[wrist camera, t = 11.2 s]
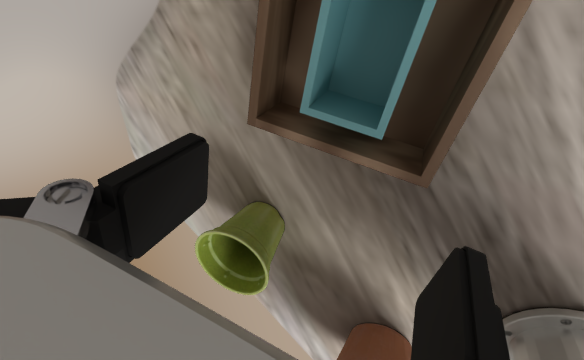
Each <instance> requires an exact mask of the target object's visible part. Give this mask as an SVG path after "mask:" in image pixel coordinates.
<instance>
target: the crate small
mask: <svg viewBox="0 0 584 360" xmlns="http://www.w3.org/2000/svg"><path fill="white" fill-rule="evenodd" d="M436 1H437V0H322V2H321V7H320V12H319V17H318V23H317V28H316V33H315V38H314V43H313V48H312V53H311V58H310V63H309V68H308V73H307V78H306V83H305V88H304V93H303V98H302V103H301V108H300V113H303V114H306V115H309V116H312V117H315V118H318V119H321V120H324V121H327V122H330V123H333V124H336V125H339V126H342V127H345V128H348V129H351V130H354V131H357V132H360V133H363V134H366V135H369V136H372V137H375V138H378V139H381V140H382V138H383V136H384V133H385V131H386V128H387V125H388V123H389V120H390V118H391V115H392V113H393V110H394V108H395V105H396V103H397V100H398V98H399V95H400V92H401V90H402V87H403V85H404V82H405V80H406V77H407V75H408V72H409V70H410V67H411V64H412V62H413V59H414V57H415V54H416V52H417V49H418V47H419V44H420V42H421V39H422V37H423V34H424V31H425V29H426V26H427V24H428V21H429V19H430V16H431V14H432V11H433V9H434V6H435V4H436Z"/></svg>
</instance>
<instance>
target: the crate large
mask: <svg viewBox="0 0 584 360" xmlns="http://www.w3.org/2000/svg"><path fill="white" fill-rule="evenodd" d="M321 2H322V0H259V7H258V18H257V28H256V39H255V49H254V60H253V70H252V81H251V91H250V102H249V112H248V123H247V124H249V125H252V126H254V127H257V128H260V129H263V130H265V131H268V132H271V133H274V134H277V135H279V136H282V137H285V138H288V139H291V140H293V141H296V142H299V143H302V144H304V145H307V146H310V147H313V148H316V149H318V150H321V151H324V152H327V153H330V154H332V155H335V156H338V157H341V158H343V159H346V160H349V161H352V162H355V163H357V164H360V165H363V166H366V167H368V168H371V169H374V170H377V171H380V172H382V173H385V174H388V175H391V176H394V177H396V178H399V179H402V180H405V181H407V182H410V183H413V184H416V185H419V186H421V187H424V188H428V186H429V184H430V183H431V181H432V179H433V177H434V175H435V174H436V172H437V170H438V168H439V166H440V165H441V163H442V161H443V159H444V157H445V156H446V154H447V152H448V150H449V149H450V147H451V145H452V143H453V141H454V140H455V138H456V136H457V134H458V132H459V131H460V129H461V127H462V125H463V124H464V122H465V120H466V118H467V116H468V115H469V113H470V111H471V109H472V107H473V106H474V104H475V102H476V100H477V99H478V97H479V95H480V93H481V91H482V90H483V88H484V86H485V84H486V82H487V81H488V79H489V77H490V75H491V74H492V72H493V70H494V68H495V66H496V65H497V63H498V61H499V59H500V57H501V56H502V54H503V52H504V50H505V48H506V47H507V45H508V43H509V41H510V40H511V38H512V36H513V34H514V32H515V31H516V29H517V27H518V25H519V23H520V22H521V20H522V18H523V16H524V15H525V13H526V11H527V9H528V7H529V6H530V4H531V2H532V0H437V1H436V4H435V6H434V9H433V11H432V14H431V16H430V19H429V21H428V24H427V26H426V29H425V31H424V34H423V37H422V39H421V42H420V44H419V47H418V49H417V52H416V54H415V57H414V59H413V62H412V64H411V67H410V70H409V72H408V75H407V77H406V80H405V82H404V85H403V87H402V90H401V92H400V95H399V98H398V100H397V103H396V105H395V108H394V110H393V113H392V115H391V118H390V120H389V123H388V125H387V128H386V131H385V133H384V136H383V138H382V140H381V139H378V138H375V137H372V136H369V135H366V134H363V133H360V132H357V131H354V130H351V129H348V128H345V127H342V126H339V125H336V124H333V123H330V122H327V121H324V120H321V119H318V118H315V117H312V116H309V115H306V114H303V113H300V108H301V103H302V98H303V93H304V88H305V83H306V78H307V73H308V68H309V63H310V58H311V53H312V48H313V43H314V38H315V33H316V28H317V23H318V17H319V12H320V7H321Z"/></svg>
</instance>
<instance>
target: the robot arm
mask: <svg viewBox="0 0 584 360" xmlns="http://www.w3.org/2000/svg"><path fill="white" fill-rule="evenodd" d="M208 158H209V145H208V144H207V143H206V139H205V138H203V137H201V136H198V135H196V134H193V133H189V134H187V135H185V136H183V137H181V138H179V139H177V140H175V141H173V142H171V143H169V144H167V145H165V146H163V147H161V148H159V149H157V150H155V151H153V152H151V153H149V154H147V155H145V156H143V157H141V158H139V159H137V160H135V161H134V162H131V163H129V164H127V165H126V166H124V167H122V168H120V169H118V170H116V171H114V172H112V173H110V174H108V175H106V176H104V177H102V178H100V179H98V184H99V185H98V186H97V187H95V188H94V187H93V186H92V184H91V183H90V182H88V181H85V180H82V179H64V180H60V181H56V182H53V183H51V184H48V185H47V186H45V187H44V188H42V189H41V190H40V191H39V192H38V194H37V196H36V197H28V198H14V199H0V360H298V359H296V358H294V357H292V356H291V355H289V354H287V353H286V352H284V351H282V350H280V349H279V348H277V347H275V346H274V345H272V344H270V343H268V342H267V341H265V340H263V339H262V338H260V337H258V336H256V335H255V334H253V333H251V332H249V331H247V330H246V329H244V328H242V327H241V326H238V325H237V324H235V323H233V322H232V321H230V320H228V319H227V318H225V317H223V316H221V315H220V314H217V313H216V312H214V311H213V310H211V309H209V308H207V307H205V306H204V305H202V304H200V303H199V302H197V301H195V300H193V299H192V298H190V297H188V296H186V295H184V294H183V293H181V292H179V291H178V290H176V289H174V288H172V287H170V286H168V285H167V284H165V283H163V282H162V281H160V280H158V279H156V278H154V277H153V276H151V275H149V274H147V273H145V272H144V271H142V270H140V269H138V268H137V267H135V266H133V265H131V264H130V262H131V261H132V260H133V259H134V258H135V259H137V258H140V257H141V256H143V255H144V254H145V253H146V252H147V251H149V250H150V249H151V248H152V247H153V246H155V245H156V244H157V243H158V242H159V241H161V240H162V239H163V238H164V237H165V236H166V235H168V234H169V233H170V232H171V231H173V230H174V229H175V228H176V227H177V226H178V225H180V224H181V223H182V222H183V221H185V220H186V219H187V218H188V217H189V216H191V215H192V214H193V213H194V212H195V211H196V210H198V209H199V208H200V207H201V206H202V205H203V204H204V203H205V202H206V199H207V187H208ZM411 360H584V312H582V311H576V310H570V309H559V308H541V309H532V310H526V311H522V312H518V313H515V314H512V315H510V316H508V317H506V318H504V319H502V314H501V311H500V308H499V307H498V306H497V305H495V304H494V299H493V293H492V287H491V282H490V276H489V270H488V264H487V259H486V255H485V254H484V253H481V252H479V251H476V250H474V249H471V248H469V247H467V246H464V247H462V248H461V249H459V248H455V249H454V250H453V251H452V253H451V254H450V255H449V257H448V258H447V259H446V261H445V262H444V263H443V265H442V266H441V267H440V269H439V270H438V271H437V273H436V274H435V275H434V277H433V278H432V279H431V281H430V282H429V284H428V285H427V286H426V288H425V289H424V290H423V292H422V293H421V294H420V296H419V297H418V299H417V302H416V306H415V317H414V328H413V339H412V351H411Z"/></svg>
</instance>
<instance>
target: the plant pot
mask: <svg viewBox="0 0 584 360" xmlns="http://www.w3.org/2000/svg"><path fill="white" fill-rule="evenodd" d="M284 229H285V225H284V221H283V219H282V218H281V217H280V215H279V213H278V211H277V210H276V209H275V208H273V207H272V206H270V205H268V204H266V203H263V202H254V203H251V204H249V205H247V206H246V207H245V208H243V209H242V210H241V211H240V212H238V213H237V214H236V215H234V216H233V217H232V218H230V219H229V220H228V221H227V222H225V223H224V224H223V225H221V226H220V227H217V228H215V229H213V230H210V231H206V232H204V233H202V234H201V235H200V236H199V237H198V239H197V241H196V243H195V253H196V256H197V259H198V261H199V263H200V265H201V266H202V268H203V269H204V271H205V272H206V273H207V274H208V275H209V276H210V277H211V278H212V279H213V280H214V281H216V282H217V283H218V284H220V285H221V286H223V287H224V288H226V289H228V290H230V291H233V292H236V293H238V294H243V295H255V294H258V293H260V292H262V291H263V290H264V289H265V288H266V286H267V284H268V280H269V270H270V264H271V261H272V259H273V256H274V254H275V251H276V249H277V246H278V244H279V242H280V239H281V237H282V235H283V232H284Z"/></svg>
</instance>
